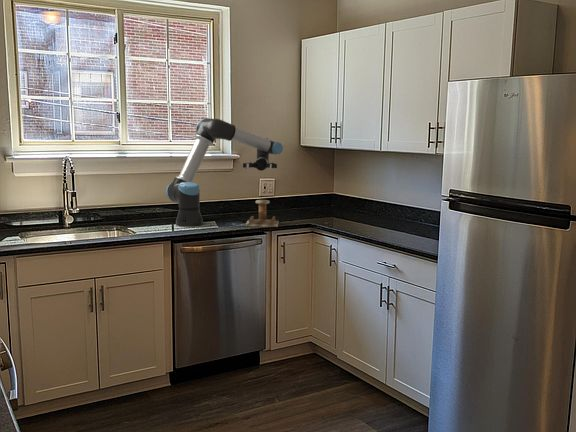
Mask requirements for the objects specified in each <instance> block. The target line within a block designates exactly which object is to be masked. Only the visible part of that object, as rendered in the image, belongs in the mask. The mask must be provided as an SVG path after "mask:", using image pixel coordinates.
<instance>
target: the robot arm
mask: <svg viewBox="0 0 576 432" xmlns="http://www.w3.org/2000/svg"><path fill="white" fill-rule="evenodd" d="M194 137H195V141H194V143H193V145H192V146H191V147H192V148H191V149H190V151H189V153H188V156H187V158H186V160H185V161H184V164H183V166H182V168H181V170H180V173H179V175H177V176H175V177H174V179H173V180H172V182H170V183H169V184H168V185H166V190H165V194H166V197H167V199H168V200H169V201H171V202H172V203H176V204H178V213H177V216H176V219H175V226H181V227H196V226H202V225H204V219H203V217H202V216H203V215H202V214H201V211H200V194H201V193H200V192H201V191H200V186H199V184H198V183H195V182H193V180H194V178H195V176H196V175H197V172H198V170H199V168H200V166H201V164H202V163H203V160H204V157H205V155H206V153H207V151H208V150H209V147H210V146H213V145H214V142H215V141H216V140H223V141H228V142H231V141H234V142H237V143H238V144H242V145H246V146H248V147H251V148H254V149H256V160H255V161H254V162H251V161H250V162H243V163H242V168H244V169H246V170H248V169H251V168H254V169H256V170H258V171H265V170H266V169H268V168H269V170H272V169H278V163H274V162H270V159H269V157H270V155H277V156H278V155H280V154H282V152H283V149H284V147H283V146H284V145H283V144H282V143H281V142H278V141H273V140H270V139H269V138H268V137H267V138H266V137H262V136H260V135H257V134H255V133H252V132H249V131H245V130H243V129H240V128H238V127H236V125H235V124H232V123H230V122H227V121H225V120H223V119H219V118H210V117H209V118H208V117H207V118H203V119H201V120H199V121H198V122H197V124H196V126H195V135H194Z"/></svg>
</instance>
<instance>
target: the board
mask: <svg viewBox="0 0 576 432" xmlns="http://www.w3.org/2000/svg"><path fill="white" fill-rule="evenodd" d="M279 224H280V220H276V215H275V216H274V215H273V216H272V217H271V219H267V220H257V219H255V216H254V215H251V216H250V217H249V219H248V220H247V221H246V223H245V227H257V228H260V227H264V228H265V227H266V228H278V227H279Z"/></svg>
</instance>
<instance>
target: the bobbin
mask: <svg viewBox="0 0 576 432" xmlns="http://www.w3.org/2000/svg"><path fill="white" fill-rule="evenodd" d="M270 203H271V202H270V200H269V199H268V200H267V199H257V200H255V204H258V219H256V220H268V219H267V205H268V204H270Z"/></svg>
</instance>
